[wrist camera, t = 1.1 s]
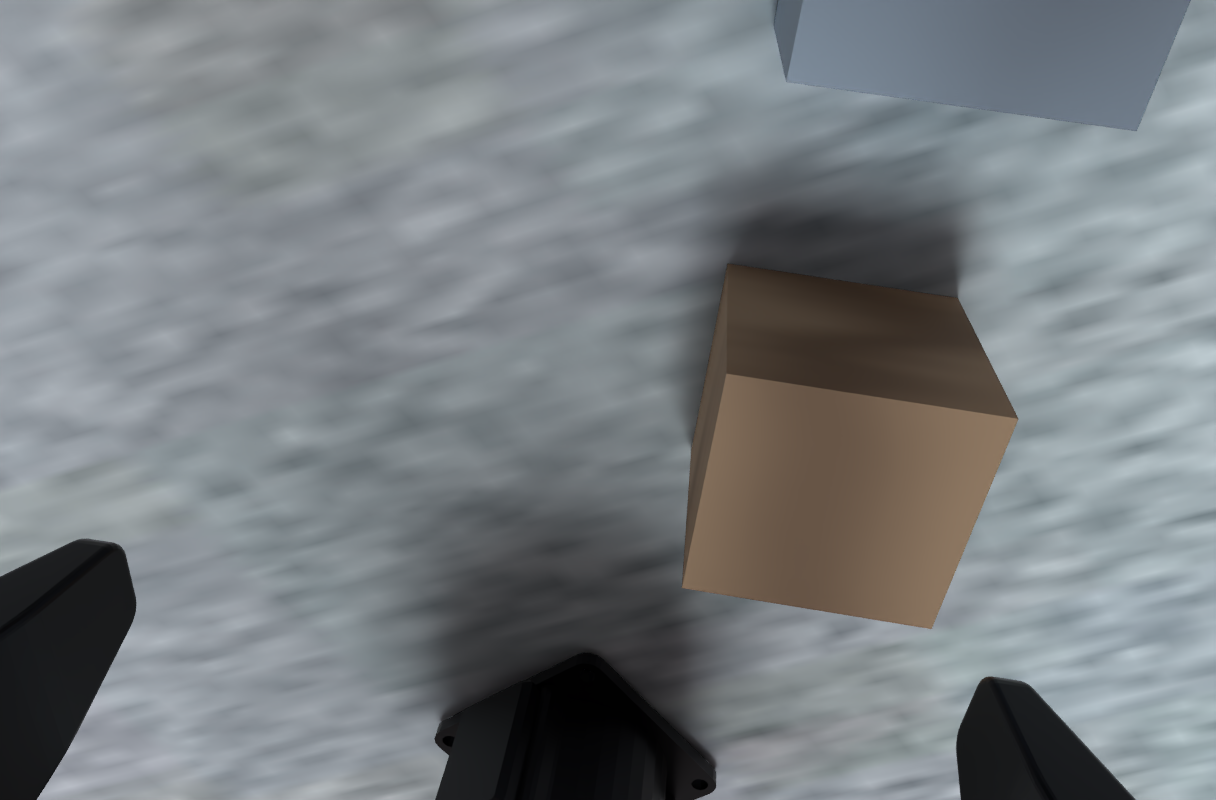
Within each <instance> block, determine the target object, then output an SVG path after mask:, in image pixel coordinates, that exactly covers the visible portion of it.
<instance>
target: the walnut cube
mask: <svg viewBox="0 0 1216 800" xmlns="http://www.w3.org/2000/svg"><path fill="white" fill-rule="evenodd" d="M1017 421H1018V417H1017V415H1016V413H1015V411H1014V409H1013V407H1012V405H1011V403H1010V401H1009V399H1008V397H1007V395H1006V393H1005V391H1004V389H1003V387H1002V385H1001V383H1000V381H999V379H998V377H997V375H996V373H995V371H994V369H993V367H992V365H991V363H990V361H989V359H988V357H987V355H986V353H985V351H984V349H983V347H982V345H981V343H980V341H979V339H978V337H977V335H976V333H975V331H974V329H973V327H972V325H971V323H970V322H969V320H968V318H967V316H966V314H965V312H964V310H963V308H962V306H961V304H960V302H959V300H958V298H954V297H948V296H941V295H934V294H928V293H921V292H914V291H908V290H901V289H894V288H888V287H881V286H874V285H868V284H861V283H854V282H848V281H841V280H834V279H828V278H821V277H814V276H808V275H801V274H794V273H788V272H781V271H774V270H768V269H761V268H754V267H748V266H741V265H734V264H727V269H726V274H725V279H724V284H723V290H722V295H721V300H720V305H719V310H718V315H717V320H716V326H715V331H714V336H713V341H712V346H711V351H710V356H709V362H708V367H707V372H706V377H705V382H704V387H703V393H702V398H701V403H700V408H699V413H698V418H697V423H696V429H695V434H694V439H693V444H692V449H691V461H690V476H689V491H688V506H687V520H686V535H685V550H684V565H683V580H682V588H685V589H691V590H697V591H703V592H709V593H716V594H722V595H728V596H734V597H740V598H746V599H752V600H758V601H764V602H770V603H776V604H782V605H789V606H795V607H801V608H807V609H813V610H819V611H825V612H831V613H837V614H843V615H849V616H855V617H862V618H868V619H874V620H880V621H886V622H892V623H898V624H904V625H910V626H916V627H922V628H928V629H932V626H933V624H934V622H935V619H936V617H937V614H938V612H939V610H940V607H941V605H942V602H943V600H944V597H945V595H946V593H947V590H948V588H949V585H950V583H951V581H952V578H953V576H954V573H955V571H956V568H957V566H958V564H959V561H960V559H961V556H962V554H963V552H964V549H965V547H966V544H967V542H968V539H969V537H970V535H971V532H972V530H973V527H974V525H975V523H976V520H977V518H978V515H979V513H980V510H981V508H982V506H983V503H984V501H985V498H986V496H987V494H988V491H989V489H990V486H991V484H992V482H993V479H994V477H995V474H996V472H997V469H998V467H999V465H1000V462H1001V460H1002V457H1003V455H1004V453H1005V450H1006V448H1007V445H1008V443H1009V440H1010V438H1011V436H1012V433H1013V431H1014V428H1015V426H1016V424H1017Z"/></svg>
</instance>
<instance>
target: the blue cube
mask: <svg viewBox="0 0 1216 800" xmlns="http://www.w3.org/2000/svg"><path fill="white" fill-rule="evenodd" d="M1190 1H1191V0H779V1H778V6H777V11H776V16H775V21H774V29H775V34H776V38H777V43H778V47H779V51H780V56H781V60H782V65H783V69H784V74H785V78H786V82H791V83H798V84H805V85H812V86H819V87H826V88H833V89H840V90H848V91H855V92H862V93H869V94H876V95H883V96H890V97H897V98H904V99H912V100H919V101H926V102H933V103H940V104H947V105H954V106H961V107H969V108H976V109H983V110H990V111H997V112H1004V113H1011V114H1018V115H1026V116H1033V117H1040V118H1047V119H1054V120H1061V121H1068V122H1075V123H1083V124H1090V125H1097V126H1104V127H1111V128H1118V129H1125V130H1132V131H1137V129H1138V127H1139V124H1140V122H1141V119H1142V117H1143V114H1144V112H1145V110H1146V107H1147V105H1148V102H1149V100H1150V98H1151V95H1152V93H1153V90H1154V88H1155V85H1156V83H1157V81H1158V78H1159V76H1160V73H1161V71H1162V68H1163V66H1164V64H1165V61H1166V59H1167V56H1168V54H1169V51H1170V49H1171V47H1172V44H1173V42H1174V39H1175V37H1176V35H1177V32H1178V30H1179V27H1180V25H1181V22H1182V20H1183V18H1184V15H1185V13H1186V10H1187V8H1188V5H1189V3H1190Z"/></svg>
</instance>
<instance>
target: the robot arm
mask: <svg viewBox="0 0 1216 800" xmlns="http://www.w3.org/2000/svg"><path fill="white" fill-rule="evenodd" d="M135 612H136V596H135V592H134V588H133V584H132V579H131V575H130V571H129V567H128V562H127V558H126V554H125V552H124V550H123V549H122V547H121V546H120V545H118V544H116V543H112V542H106V541H99V540H92V539H79V540H76V541H73V542H71V543H69V544H67V545H65V546H62V547H60V548H58V549H56V550H54V551H52V552H50V553H48V554H46V555H44V556H42V557H40V558H38V559H36V560H34V561H32V562H29V563H27V564H25V565H23V566H21V567H19V568H17V569H15V570H13V571H11V572H9V573H7V574H5V575H3V576H1V577H0V800H37V798H38V797H39V795H40V793H41V792H42V790H43V789H44V787H45V786H46V784H47V783H48V781H49V779H50V778H51V776H52V775H53V773H54V771H55V770H56V768H57V767H58V765H59V763H60V762H61V760H62V758H63V757H64V755H65V753H66V752H67V750H68V748H69V746H70V744H71V743H72V741H73V739H74V737H75V735H76V733H77V731H78V730H79V728H80V726H81V724H82V722H83V720H84V718H85V716H86V714H87V712H88V710H89V708H90V706H91V704H92V702H93V700H94V698H95V696H96V694H97V692H98V690H99V688H100V686H101V684H102V682H103V680H104V678H105V676H106V674H107V672H108V670H109V668H110V666H111V664H112V662H113V660H114V658H115V656H116V654H117V652H118V650H119V648H120V646H121V644H122V642H123V640H124V638H125V636H126V634H127V632H128V631H129V629H130V627H131V624H132V622H133V619H134V616H135ZM585 669H586V670H591V672H590V671H585ZM435 742H436V744H437V745H438V746H439V747H440V748H441V749H442V750H443V751H445V752H446V753H447V754H448V755H449V758H448V761H447V764H446V767H445V771H444V774H443V777H442V780H441V783H440V787H439V790H438V793H437V796H436V799H435V800H694V799H697V798H700V797H702V796H705V795H707V794H710V793H711V792H713V791H714V790H715V788H716V771H715V770H714V768H713V767H712V766H711V765H710V764H709V763H708V762H707V761H706V760H705V759H704V758H703V757H702V756H701V755H700V754H699V753H698V752H697V751H696V750H695V749H694V748H692V747H691V746H690V745H689V744H688V743H687V742H686V741H685V740H684V739H683V738H682V737H681V736H680V735H679V734H678V733H677V732H676V731H675V730H674V729H673V728H672V727H671V726H670V725H669V724H668V723H667V722H666V721H665V720H664V719H663V718H662V717H661V716H660V715H659V714H658V713H657V712H656V711H655V710H654V709H653V708H652V707H651V706H650V705H649V704H648V703H647V702H646V701H645V700H644V699H643V698H642V697H641V696H640V695H639V694H638V693H636V692H635V691H634V690H633V689H632V688H631V687H630V686H629V685H628V684H627V683H626V682H625V681H624V680H623V679H622V678H621V677H620V676H619V675H618V674H617V673H616V672H615V671H614V670H613V669H612V668H611V667H610V666H609V665H608V664H607V663H606V662H605V661H604V660H603V659H602V658H600V657H599V656H597V655H595V654H592V653H582V654H578V655H576V656H574V657H572V658H570V659H568V660H566V661H564V662H562V663H560V664H558V665H556V666H554V667H552V668H550V669H548V670H546V671H544V672H542V673H540V674H538V675H536V676H534V677H532V678H530V679H528V680H526V681H522V682H519V683H517V684H515V685H513V686H511V687H509V688H507V689H505V690H503V691H501V692H499V693H497V694H495V695H493V696H491V697H489V698H487V699H485V700H483V701H481V702H479V703H477V704H475V705H473V706H471V707H469V708H467V709H465V710H464V711H463V712H461V713H459V714H457V715H455V716H453V717H451V718H449V719H447V720H445V721H443V722H442V723H440V724H439V727H438V730H437V733H436V736H435ZM956 753H957V764H958V774H959V785H960V795H961V800H1136V799H1135V798H1134V797H1133V796H1132V795H1131V794H1130V793H1129V792H1128V791H1127V790H1126V789H1125V787H1124V786H1123V785H1122V784H1121V783H1120V782H1119V781H1118V780H1117V779H1116V778H1115V777H1114V776H1113V774H1112V773H1111V772H1110V771H1109V770H1108V769H1107V768H1106V767H1105V766H1104V765H1103V764H1102V763H1101V761H1100V760H1099V759H1098V758H1097V757H1096V756H1095V755H1094V754H1093V753H1092V752H1091V751H1090V750H1089V748H1088V747H1087V746H1086V745H1085V744H1084V743H1083V742H1082V741H1081V740H1080V739H1079V738H1078V737H1077V735H1076V734H1075V733H1074V732H1073V731H1072V730H1071V729H1070V728H1069V727H1068V726H1067V725H1066V724H1065V722H1064V721H1063V720H1062V719H1061V718H1060V717H1059V716H1058V715H1057V714H1056V713H1055V712H1054V711H1053V709H1052V708H1051V707H1050V706H1049V705H1048V704H1047V703H1046V702H1045V701H1044V700H1043V699H1042V698H1041V696H1040V695H1039V694H1038V693H1037V692H1036V691H1035V690H1034V689H1033V688H1032V687H1031V686H1030V685H1028V684H1027V683H1025V682H1022V681H1017V680H1011V679H1004V678H998V677H986V678H984V679H982V680H981V681H980V683H979V685H978V686H977V688H976V691H975V693H974V695H973V698H972V700H971V702H970V704H969V707H968V709H967V711H966V714H965V716H964V718H963V720H962V723H961V725H960V728H959V730H958V735H957V742H956Z"/></svg>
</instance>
